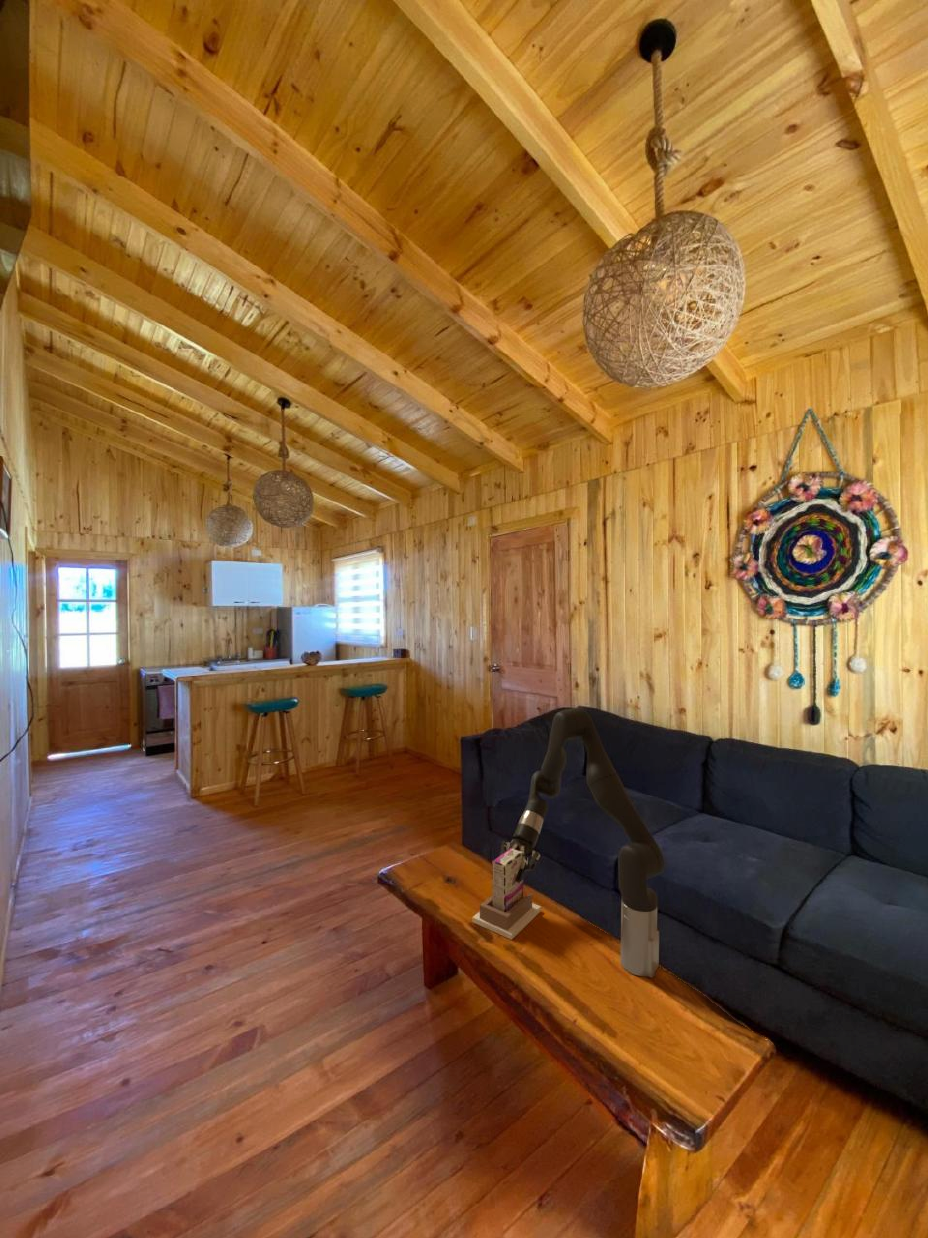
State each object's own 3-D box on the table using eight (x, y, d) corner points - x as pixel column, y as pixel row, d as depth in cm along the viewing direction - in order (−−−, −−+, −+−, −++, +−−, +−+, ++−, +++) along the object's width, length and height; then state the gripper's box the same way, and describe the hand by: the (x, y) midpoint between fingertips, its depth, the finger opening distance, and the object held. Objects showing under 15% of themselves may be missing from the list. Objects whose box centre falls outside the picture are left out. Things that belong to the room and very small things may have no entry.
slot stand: (540, 911, 164) (540, 894, 164) (511, 940, 149) (511, 921, 149) (503, 896, 172) (503, 880, 172) (472, 922, 158) (472, 904, 158)
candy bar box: (510, 897, 167) (510, 847, 167) (523, 902, 164) (524, 851, 164) (491, 913, 158) (491, 860, 158) (504, 919, 155) (505, 865, 155)
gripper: (506, 817, 173) (486, 867, 164) (544, 828, 165) (525, 881, 155) (514, 828, 177) (495, 876, 168) (551, 839, 169) (533, 891, 160)
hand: (509, 878), depth 162 cm, fingers closed on candy bar box, 5 cm apart
